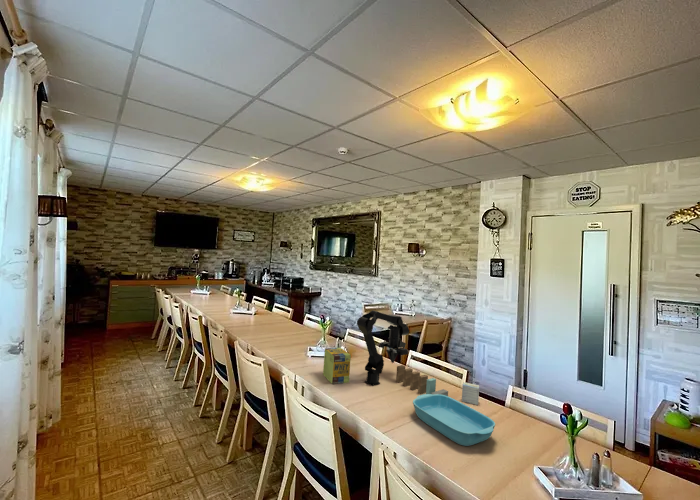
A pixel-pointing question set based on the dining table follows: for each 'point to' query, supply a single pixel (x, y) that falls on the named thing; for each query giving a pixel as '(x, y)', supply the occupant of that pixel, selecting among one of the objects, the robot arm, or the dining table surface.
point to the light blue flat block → (431, 386)
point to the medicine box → (470, 393)
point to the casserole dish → (453, 419)
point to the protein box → (336, 365)
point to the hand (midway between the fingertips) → (392, 362)
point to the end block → (441, 392)
